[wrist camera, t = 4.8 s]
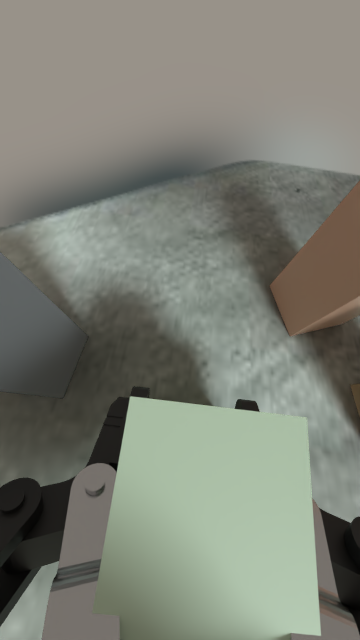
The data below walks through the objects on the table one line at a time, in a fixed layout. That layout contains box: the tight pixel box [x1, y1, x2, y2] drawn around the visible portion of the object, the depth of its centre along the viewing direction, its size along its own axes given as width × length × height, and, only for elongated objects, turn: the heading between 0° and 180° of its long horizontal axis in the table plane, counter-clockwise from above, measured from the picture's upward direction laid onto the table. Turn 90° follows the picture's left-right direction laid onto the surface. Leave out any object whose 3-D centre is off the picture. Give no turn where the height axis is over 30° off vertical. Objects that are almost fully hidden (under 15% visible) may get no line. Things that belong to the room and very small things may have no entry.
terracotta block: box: [270, 181, 360, 336], centre depth 13 cm, size 4×4×10 cm
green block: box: [92, 396, 321, 640], centre depth 9 cm, size 4×4×10 cm
